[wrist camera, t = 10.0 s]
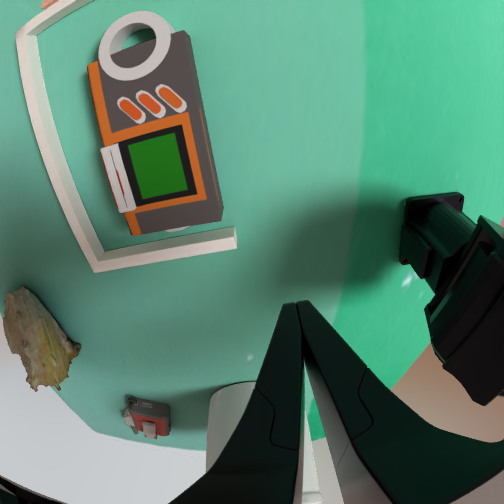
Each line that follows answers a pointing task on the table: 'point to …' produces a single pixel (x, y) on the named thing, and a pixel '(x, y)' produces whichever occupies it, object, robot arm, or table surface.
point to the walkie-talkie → (148, 417)
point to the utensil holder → (227, 418)
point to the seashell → (37, 339)
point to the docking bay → (56, 7)
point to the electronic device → (154, 128)
